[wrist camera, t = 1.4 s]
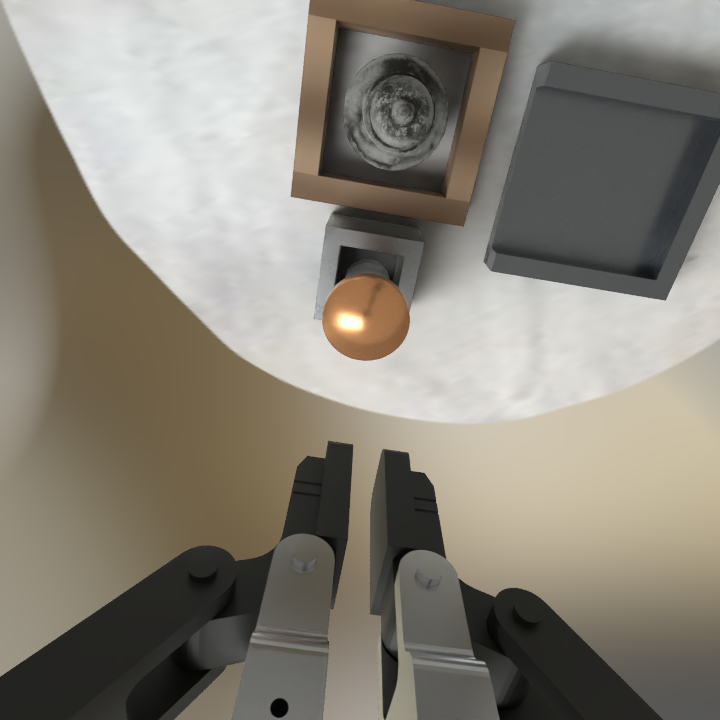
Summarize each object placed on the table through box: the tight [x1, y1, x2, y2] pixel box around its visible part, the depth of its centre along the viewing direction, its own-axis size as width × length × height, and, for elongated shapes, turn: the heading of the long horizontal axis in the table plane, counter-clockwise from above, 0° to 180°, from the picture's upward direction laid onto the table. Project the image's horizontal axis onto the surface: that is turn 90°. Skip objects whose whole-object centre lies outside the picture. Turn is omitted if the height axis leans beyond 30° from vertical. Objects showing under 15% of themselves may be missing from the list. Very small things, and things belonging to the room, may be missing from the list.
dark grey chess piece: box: [343, 53, 448, 171], centre depth 25 cm, size 6×6×12 cm
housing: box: [314, 213, 425, 320], centre depth 33 cm, size 6×6×4 cm
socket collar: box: [291, 0, 515, 227], centre depth 30 cm, size 11×11×2 cm
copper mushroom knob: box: [322, 259, 410, 361], centre depth 28 cm, size 4×4×7 cm
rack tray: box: [483, 61, 720, 300], centre depth 31 cm, size 12×12×2 cm
